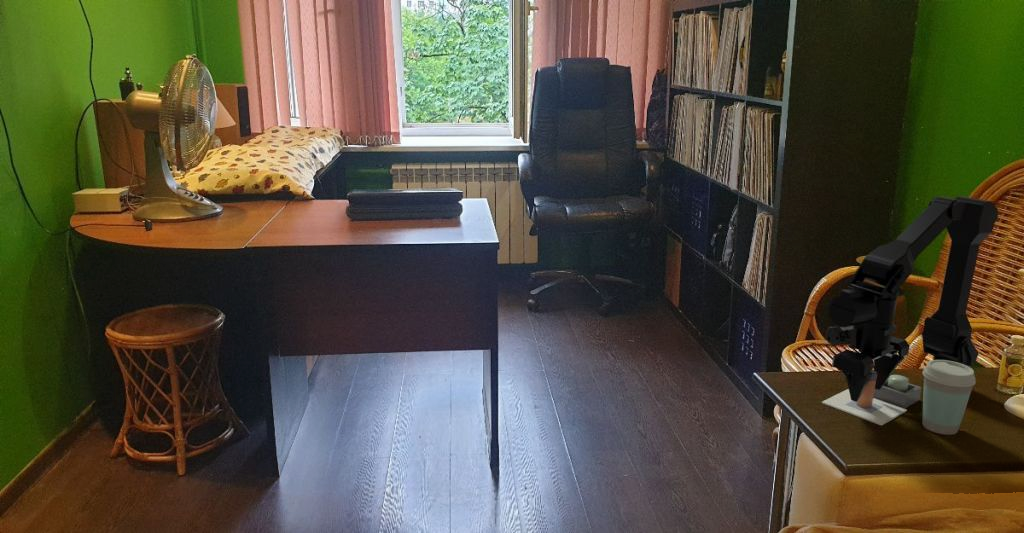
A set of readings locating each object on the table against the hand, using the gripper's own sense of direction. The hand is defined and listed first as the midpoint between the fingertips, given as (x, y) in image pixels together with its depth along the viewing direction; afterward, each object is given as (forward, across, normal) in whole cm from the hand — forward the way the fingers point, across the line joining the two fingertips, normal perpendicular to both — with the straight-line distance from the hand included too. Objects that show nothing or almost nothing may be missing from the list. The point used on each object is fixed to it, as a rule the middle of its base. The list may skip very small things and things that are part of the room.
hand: (865, 394), depth 150 cm
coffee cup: (+3, -3, +13) cm, 14 cm away
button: (+1, -9, +2) cm, 9 cm away
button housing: (+3, -9, +2) cm, 10 cm away
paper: (+3, 0, 0) cm, 3 cm away
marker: (+2, 0, 0) cm, 2 cm away
